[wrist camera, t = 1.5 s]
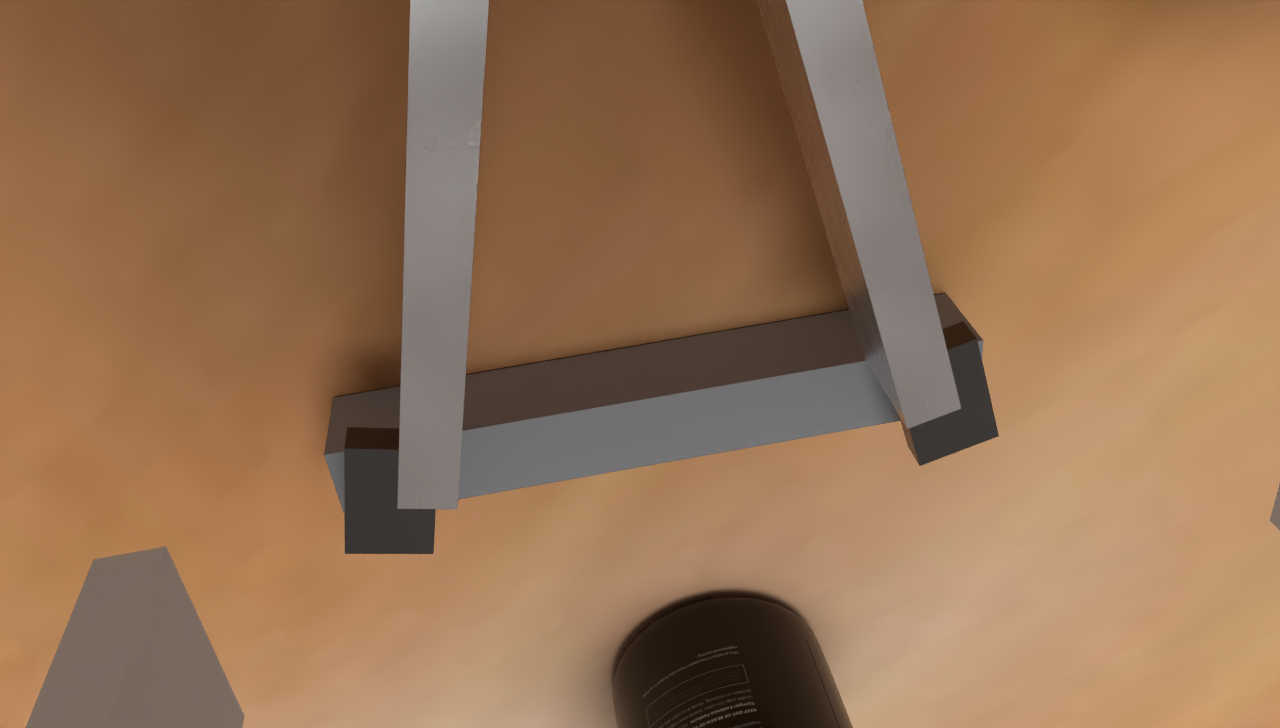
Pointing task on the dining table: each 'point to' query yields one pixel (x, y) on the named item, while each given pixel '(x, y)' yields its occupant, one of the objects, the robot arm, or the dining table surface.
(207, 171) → the dining table surface
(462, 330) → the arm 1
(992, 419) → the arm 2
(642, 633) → the supplement bottle
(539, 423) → the stand
